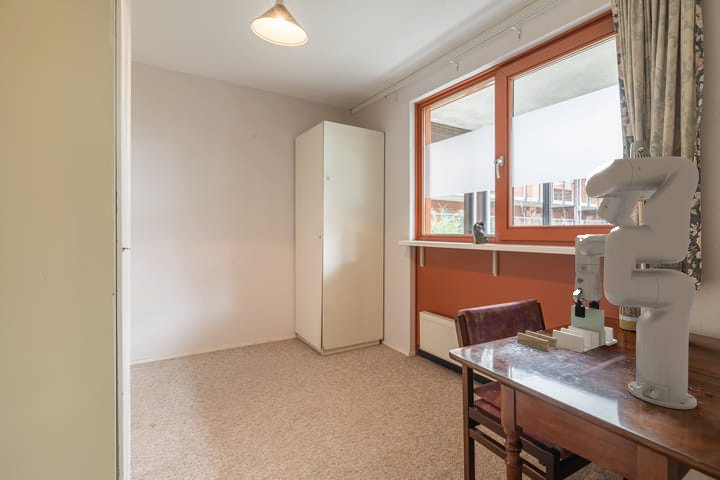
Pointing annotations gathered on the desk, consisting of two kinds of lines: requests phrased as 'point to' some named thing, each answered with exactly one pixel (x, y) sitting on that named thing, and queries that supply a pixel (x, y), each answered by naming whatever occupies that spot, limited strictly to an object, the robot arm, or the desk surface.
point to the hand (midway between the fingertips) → (587, 315)
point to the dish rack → (582, 338)
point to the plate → (590, 321)
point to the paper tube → (629, 317)
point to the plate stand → (537, 340)
